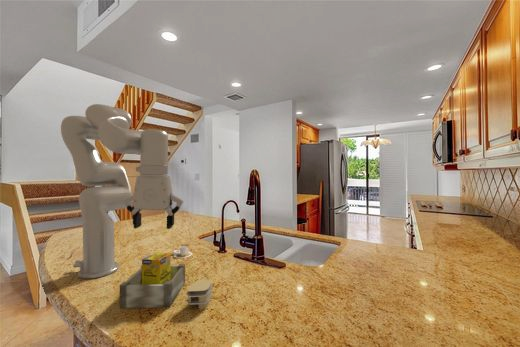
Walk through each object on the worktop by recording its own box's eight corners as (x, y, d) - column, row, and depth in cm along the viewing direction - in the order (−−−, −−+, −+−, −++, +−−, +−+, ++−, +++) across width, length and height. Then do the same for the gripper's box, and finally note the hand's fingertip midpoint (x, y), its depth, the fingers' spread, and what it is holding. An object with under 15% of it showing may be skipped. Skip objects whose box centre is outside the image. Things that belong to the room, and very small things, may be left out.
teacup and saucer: (170, 255, 102) (170, 246, 102) (187, 250, 108) (187, 242, 107) (177, 260, 96) (177, 251, 96) (195, 256, 101) (195, 247, 101)
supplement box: (160, 297, 65) (159, 260, 65) (141, 296, 66) (140, 259, 66) (171, 287, 71) (171, 252, 71) (153, 286, 72) (153, 251, 72)
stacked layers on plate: (194, 293, 70) (194, 275, 70) (221, 296, 68) (221, 278, 68) (176, 313, 60) (175, 293, 60) (207, 317, 58) (207, 296, 58)
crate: (119, 308, 62) (119, 285, 62) (143, 283, 75) (143, 264, 75) (170, 307, 62) (170, 284, 62) (185, 282, 76) (184, 263, 76)
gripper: (117, 170, 64) (117, 230, 65) (179, 172, 65) (178, 231, 65) (131, 170, 72) (131, 224, 72) (186, 171, 73) (186, 224, 73)
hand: (153, 227), depth 69 cm, fingers open, 9 cm apart
